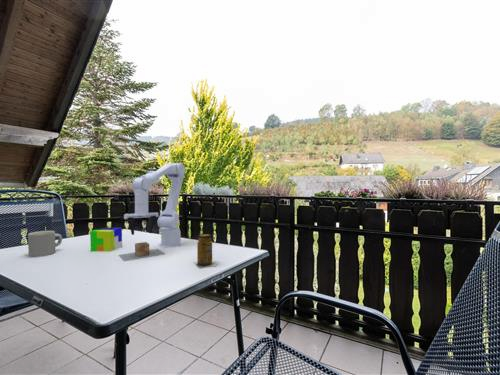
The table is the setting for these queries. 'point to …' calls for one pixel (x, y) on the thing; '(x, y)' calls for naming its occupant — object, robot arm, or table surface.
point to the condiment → (204, 251)
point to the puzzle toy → (106, 239)
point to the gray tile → (132, 256)
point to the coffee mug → (42, 243)
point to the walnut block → (142, 249)
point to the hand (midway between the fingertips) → (141, 233)
